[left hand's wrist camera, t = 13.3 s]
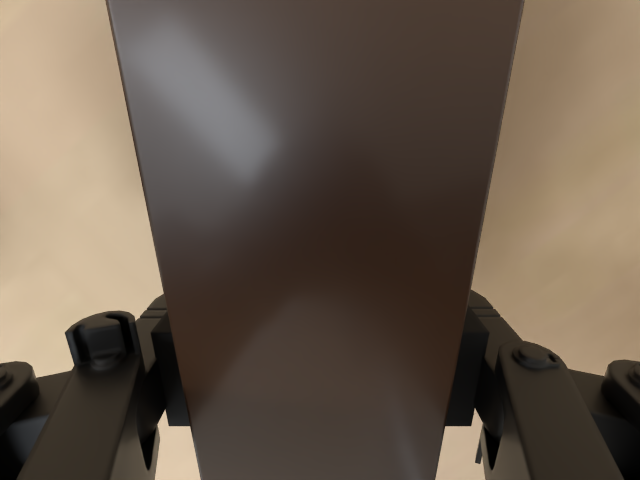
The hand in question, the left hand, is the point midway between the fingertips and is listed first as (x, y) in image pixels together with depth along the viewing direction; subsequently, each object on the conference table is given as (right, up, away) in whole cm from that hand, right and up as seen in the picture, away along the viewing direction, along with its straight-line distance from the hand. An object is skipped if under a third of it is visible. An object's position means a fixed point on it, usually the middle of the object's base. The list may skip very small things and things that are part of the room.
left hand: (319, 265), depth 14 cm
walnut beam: (0, +10, -3) cm, 10 cm away
